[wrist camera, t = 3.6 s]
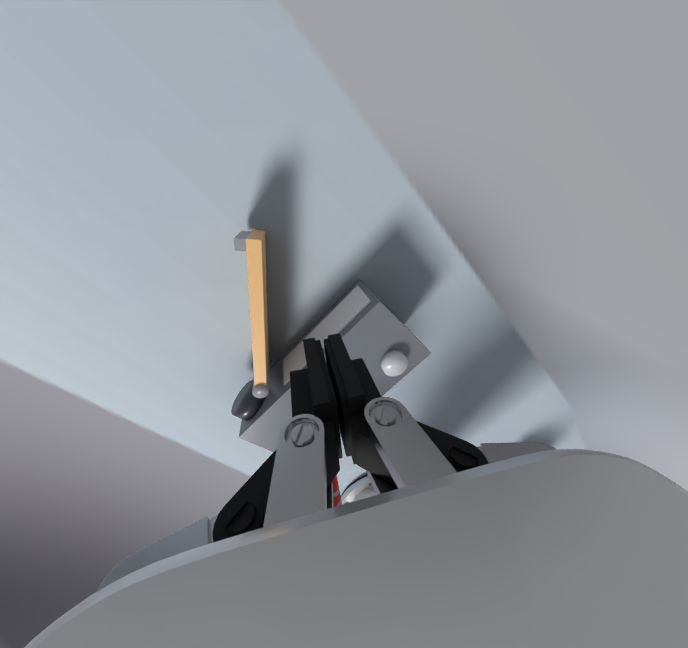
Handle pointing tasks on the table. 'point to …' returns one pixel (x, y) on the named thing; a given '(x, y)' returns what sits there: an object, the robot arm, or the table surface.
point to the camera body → (360, 341)
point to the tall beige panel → (257, 306)
